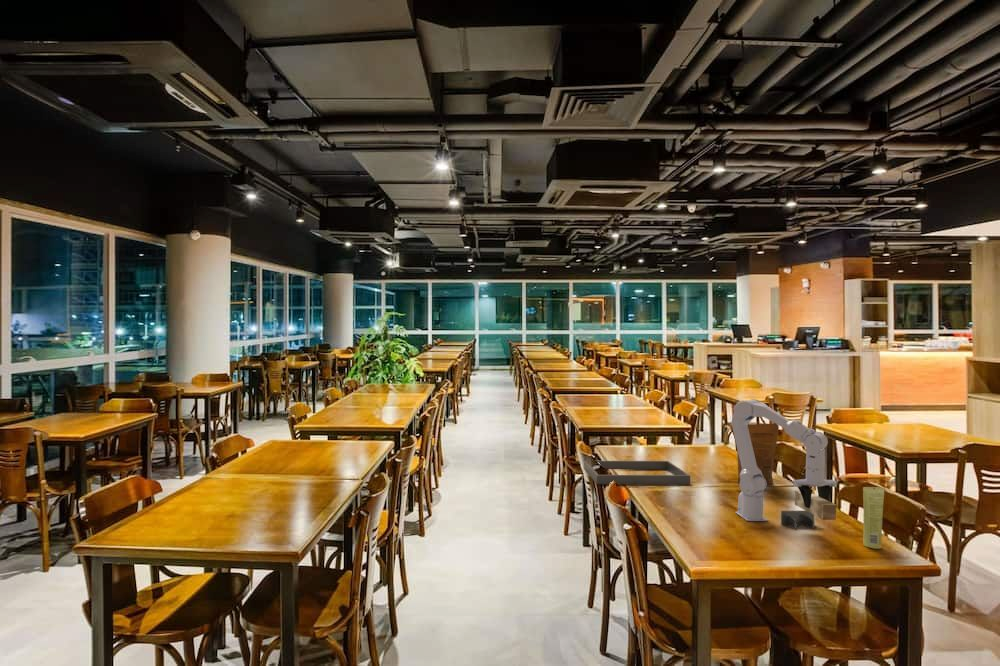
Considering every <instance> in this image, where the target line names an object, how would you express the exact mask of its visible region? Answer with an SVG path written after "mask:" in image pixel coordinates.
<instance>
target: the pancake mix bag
mask: <svg viewBox="0 0 1000 666" xmlns="http://www.w3.org/2000/svg"><path fill="white" fill-rule="evenodd" d="M779 427H780V426H779V425H778V424H776V423H757V424H755V423H754V424H753V423H751V424H750V423H749V424H748V430H749V434H750V439H751V443H752V447H753V451H754V455H755V460H756V464H757V467H758V468H759V469H760V470H761V472H762V475H763V477H764V478H765V480H766V482H767V486H771V484H772V485H773V484H774V479H773V469H774V464H775V463H774V461H775V460H774V459H775V453H776V448H777V441H778V436H779ZM736 449H737V448H736ZM736 454H737V456H736V457H737V459H736V460H737V481H736V483H737V484H740V473H741V471H742V467H741V462H740V458H739V454H738V449H737V453H736Z"/></svg>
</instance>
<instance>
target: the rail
mask: <svg viewBox="0 0 1000 666" xmlns="http://www.w3.org/2000/svg"><path fill="white" fill-rule="evenodd" d="M794 505H795V506H796V507H798V508H800V509H801V510H803V511H807V512H809V513H811V514H813V515H814V517H817V518H819V519H820V520H822V521H826V520H827V521H831V520H832V521H836V520H837V504H835V503H833V502H831V501H830V500H828V499H827V500H825V499H823V498H821V497H819V496H818V494H817V495H816V494H815V493H813V492H812V495H811V505H810V508H807V507H805V505H804V501H803V498H802V495H801V492H800V491H799V490H795V491H794Z"/></svg>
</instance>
